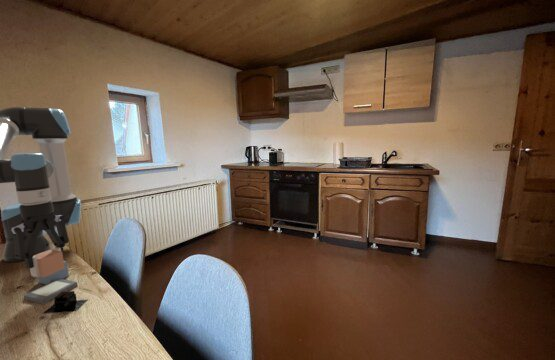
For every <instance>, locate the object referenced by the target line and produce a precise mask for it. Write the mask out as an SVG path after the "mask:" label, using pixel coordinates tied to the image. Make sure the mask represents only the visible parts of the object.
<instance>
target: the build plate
mask: <svg viewBox="0 0 555 360" xmlns="http://www.w3.org/2000/svg"><path fill="white" fill-rule="evenodd" d="M88 301H89V299H77V294H76V293H75V290H69V291H67V292H61V293H60V294H59V295H57V296H56V297H55V298H54V299H53V304H52V305H51V306H49V307H48V308H47V309H46V310H45V311H43V312H42V314H43V315H45V314H46V315H47V314H57V313H58V314H59V313H73V312H74V313H75V312H77V311H78V310H80V308H82V307H83V306H84V305H85V304H86V302H88Z"/></svg>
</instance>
